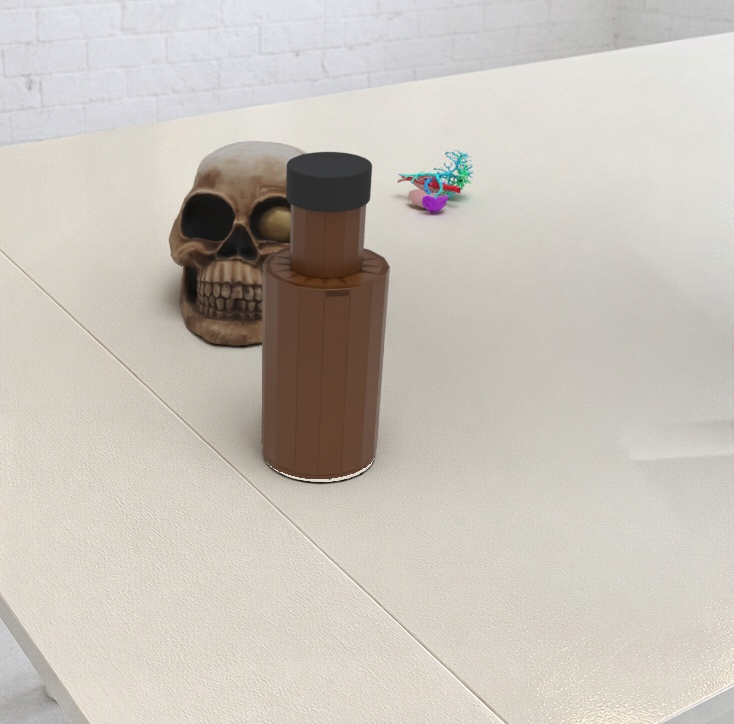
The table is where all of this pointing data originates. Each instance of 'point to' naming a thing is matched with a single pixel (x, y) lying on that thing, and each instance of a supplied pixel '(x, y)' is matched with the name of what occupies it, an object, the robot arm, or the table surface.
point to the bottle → (323, 347)
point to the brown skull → (231, 238)
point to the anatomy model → (438, 184)
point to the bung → (328, 181)
